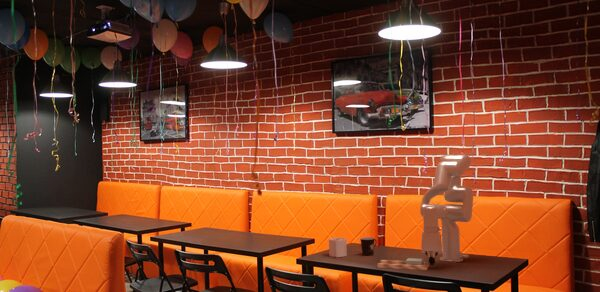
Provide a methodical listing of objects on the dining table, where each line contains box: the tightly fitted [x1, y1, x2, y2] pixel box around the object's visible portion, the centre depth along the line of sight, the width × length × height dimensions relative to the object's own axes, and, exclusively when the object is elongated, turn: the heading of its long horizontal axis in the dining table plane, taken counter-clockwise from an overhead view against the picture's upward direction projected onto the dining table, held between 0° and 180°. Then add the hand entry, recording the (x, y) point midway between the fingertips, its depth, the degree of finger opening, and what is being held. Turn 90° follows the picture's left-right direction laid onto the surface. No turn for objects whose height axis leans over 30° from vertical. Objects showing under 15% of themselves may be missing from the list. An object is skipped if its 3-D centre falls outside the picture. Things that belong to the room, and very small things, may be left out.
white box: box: [328, 237, 348, 258], centre depth 321 cm, size 11×12×10 cm
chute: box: [376, 259, 430, 271], centre depth 283 cm, size 26×10×3 cm, turn 70°
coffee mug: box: [359, 236, 378, 257], centre depth 322 cm, size 12×9×10 cm
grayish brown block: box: [405, 257, 424, 265], centre depth 281 cm, size 8×6×4 cm
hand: (432, 264), depth 278 cm, fingers closed
